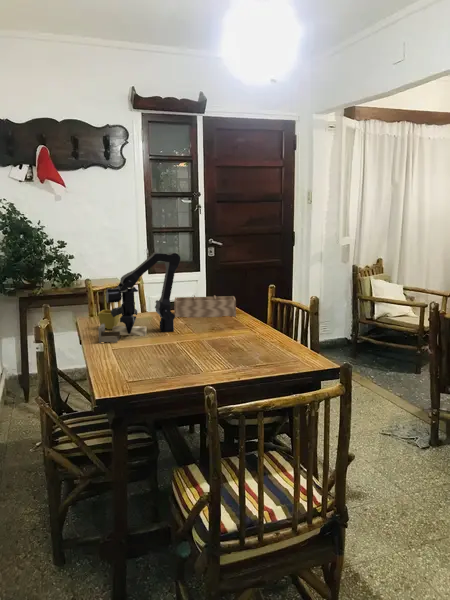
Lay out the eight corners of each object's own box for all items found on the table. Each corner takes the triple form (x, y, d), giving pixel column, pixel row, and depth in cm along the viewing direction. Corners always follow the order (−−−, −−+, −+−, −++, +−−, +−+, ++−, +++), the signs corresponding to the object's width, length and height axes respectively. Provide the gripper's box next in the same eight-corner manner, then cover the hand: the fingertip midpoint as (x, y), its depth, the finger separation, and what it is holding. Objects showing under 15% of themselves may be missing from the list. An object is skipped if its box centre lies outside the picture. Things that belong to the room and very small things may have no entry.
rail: (146, 334, 241) (146, 326, 241) (145, 336, 238) (144, 328, 237) (114, 333, 243) (114, 326, 242) (112, 335, 239) (112, 327, 238)
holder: (234, 311, 292) (233, 294, 290) (235, 316, 280) (235, 298, 278) (175, 313, 290) (174, 295, 288) (174, 317, 278) (174, 299, 276)
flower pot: (120, 326, 257) (119, 309, 255) (115, 330, 248) (114, 313, 247) (104, 326, 258) (103, 309, 256) (98, 330, 249) (97, 313, 248)
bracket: (120, 337, 235) (119, 323, 234) (117, 342, 225) (116, 328, 224) (102, 337, 235) (102, 323, 233) (98, 343, 225) (98, 328, 223)
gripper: (114, 298, 246) (115, 328, 249) (108, 305, 228) (109, 337, 230) (136, 297, 247) (138, 328, 249) (132, 304, 228) (133, 337, 231)
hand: (129, 332), depth 240 cm, fingers closed on rail, 4 cm apart
